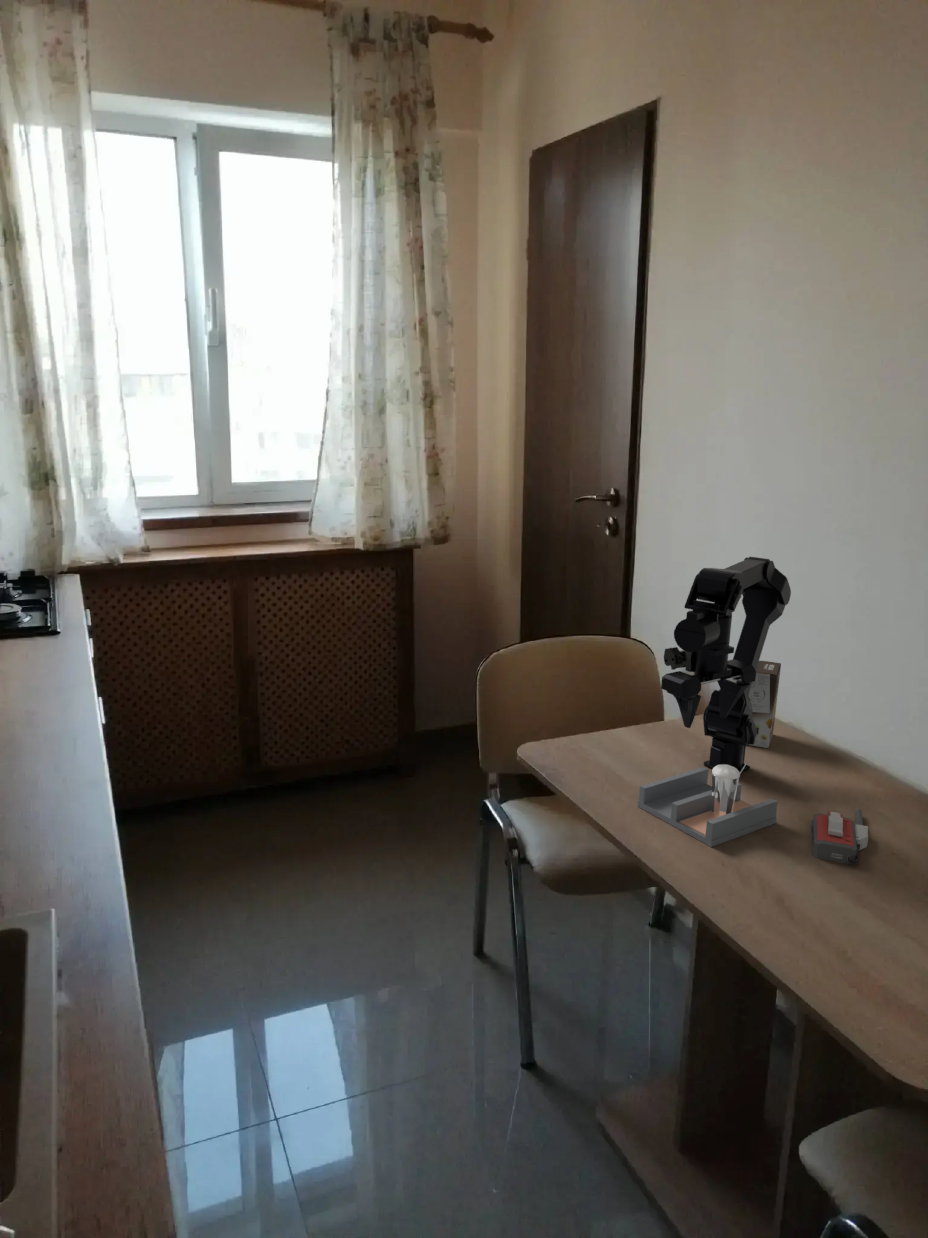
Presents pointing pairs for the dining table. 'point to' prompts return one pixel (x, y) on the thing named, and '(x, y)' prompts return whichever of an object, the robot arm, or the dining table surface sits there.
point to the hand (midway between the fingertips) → (705, 722)
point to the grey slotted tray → (702, 808)
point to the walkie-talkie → (838, 837)
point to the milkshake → (724, 789)
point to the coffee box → (764, 701)
